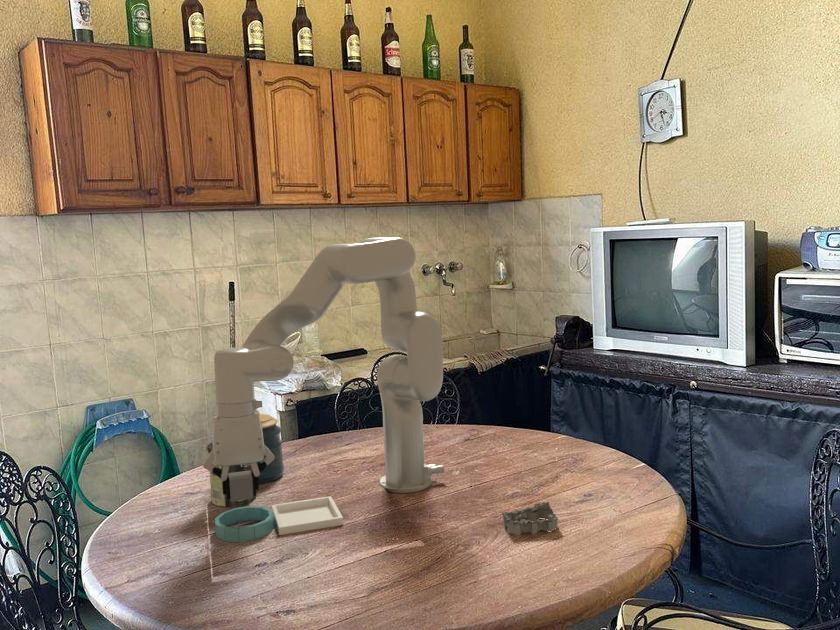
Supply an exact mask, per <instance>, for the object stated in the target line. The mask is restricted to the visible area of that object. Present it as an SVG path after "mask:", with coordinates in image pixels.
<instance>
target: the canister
mask: <svg viewBox="0 0 840 630" xmlns="http://www.w3.org/2000/svg"><path fill="white" fill-rule="evenodd" d="M256 412H258V413H259V416H260V420H261V426H262V432H263V441H264V445H265V446H266V447H267V448H268V449H269V450H270V451H271V452H272V454H273V455H274V457H275V459H274V460H273V461H272V462H271V463H270V464H268V465H267V466H266V467H265V469H264V470H263V471H262V472H261V473H260V475H259V476H258V478H259V485H260V484H262V485H263V484H266V483H267V484H268V483H271V482H274V481H276V480H279V479H280V478H281V477H282V476H283V475H284V470H285V467H284V464H285V463H283V462H284V461H283V460H284V459H283V457H284V456H283V446H282V445H283V441H282V439H281V432H282V428H281V427H280V426H279V425H277V424H278V419H277V418H275V417H273V416H271V415H270V414H268V413H267V414H266V413H265V414H264V413H260V411H259V410H258V409H257V410H256ZM265 457H266V456H265V455H264V458H265ZM256 463H257V465H258V464H259V463H260V462H256Z"/></svg>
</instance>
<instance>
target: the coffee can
mask: <svg viewBox="0 0 840 630" xmlns="http://www.w3.org/2000/svg"><path fill="white" fill-rule="evenodd" d="M206 449H207V456H208V455H209V454H210V452H211V451H212V442H210V443H208V444H207V445H206ZM212 464H213V465H215V463H214V460H213V462H212ZM215 466H217V465H215ZM217 467H219V468H220V469H221V467H222V466H217ZM242 471H251V473H252V471H253V470H252V467H251V464H250V463H249V464H241V465H232V466H229V470H228V473H234V472H242ZM208 472H209V479H210V480H209V481H210V482H209V483H210V495H211V504H212V505H213V506H215V507H218V508H238V507H243V506H245V505H248V504H250V503H252V502H254V501H255V500H256V499H257V495H256V496H254V495H253V499H245V500H238V501H231V500H230V499H228V500H227V495H226V494H225V495H223V486H222V480H221V479H220V478H219V477H218V476H216V475H215V474H214V473H213V472H211V471H209V470H208Z"/></svg>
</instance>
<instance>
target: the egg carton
mask: <svg viewBox="0 0 840 630" xmlns="http://www.w3.org/2000/svg"><path fill="white" fill-rule="evenodd" d="M549 503H550V502H549V501H547V502H544V501H543V502H541V503H540V502H538V503H536V504H535V503H534V505H533V507H530V506H528V507H526V508H522V509H515V510H512V511H501V516H502V517H503V518H502V519H503V521H502V522H503V524H504V526H507V527H506V528H507V531H506V532H507V534H508V533H512V534H511V535H514V534H515V535H514V536H516V535H517V536H521V535H520V534H523V533H529V532H531V533H537V534H538V532H539V531H538V530H548V531H553V529H555V528H557V529H558V521H559V518H558V516H556V513H554V510H553V508H552V507H551V505H550V504H549ZM539 518H545V520H544V519H540V520H539ZM546 519H548V520H546ZM532 521H533V522H532ZM504 526H503V527H504ZM537 531H538V532H537ZM522 532H523V533H522ZM531 533H530V534H531Z"/></svg>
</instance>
